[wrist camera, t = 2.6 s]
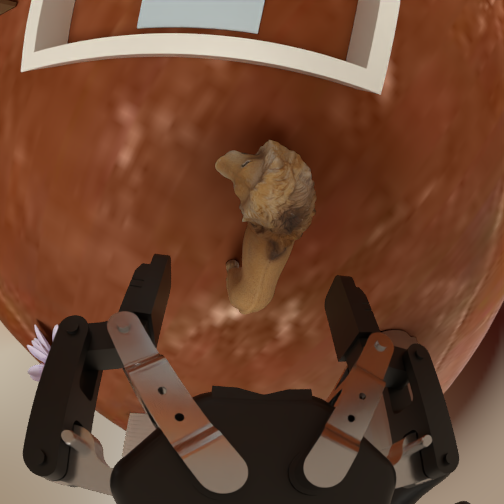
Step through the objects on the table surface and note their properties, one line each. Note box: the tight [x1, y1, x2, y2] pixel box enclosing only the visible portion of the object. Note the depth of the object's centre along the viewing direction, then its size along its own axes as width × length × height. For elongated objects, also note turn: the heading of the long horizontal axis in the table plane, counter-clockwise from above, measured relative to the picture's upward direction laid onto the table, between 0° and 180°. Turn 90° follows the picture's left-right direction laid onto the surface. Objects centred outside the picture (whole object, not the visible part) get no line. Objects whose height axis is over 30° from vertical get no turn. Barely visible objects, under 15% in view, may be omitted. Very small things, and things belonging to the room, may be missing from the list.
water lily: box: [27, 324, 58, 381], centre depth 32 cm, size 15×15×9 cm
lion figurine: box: [215, 140, 317, 314], centre depth 18 cm, size 15×5×9 cm, turn 177°
